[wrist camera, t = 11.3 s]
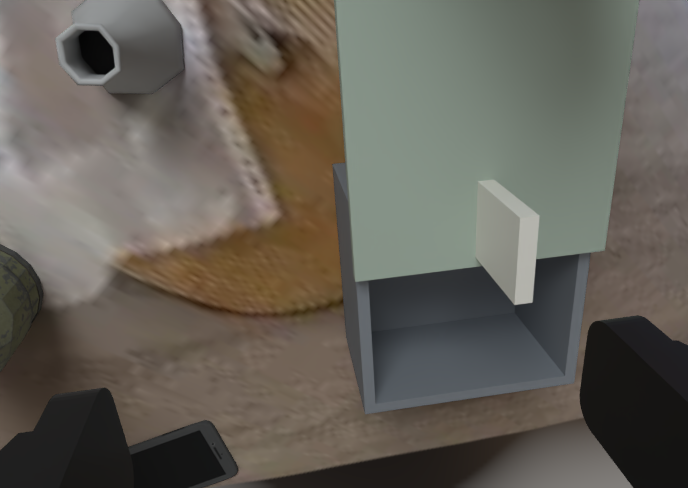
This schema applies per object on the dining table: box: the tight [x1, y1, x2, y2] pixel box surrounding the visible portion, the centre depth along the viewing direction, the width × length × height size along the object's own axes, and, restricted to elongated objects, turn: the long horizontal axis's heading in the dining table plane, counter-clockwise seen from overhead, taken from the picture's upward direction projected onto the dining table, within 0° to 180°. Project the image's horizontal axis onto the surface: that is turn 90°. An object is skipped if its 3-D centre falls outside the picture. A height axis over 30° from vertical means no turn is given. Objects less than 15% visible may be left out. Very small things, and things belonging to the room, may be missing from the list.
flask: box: [55, 0, 184, 94], centre depth 33 cm, size 7×7×10 cm
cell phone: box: [128, 420, 238, 488], centre depth 53 cm, size 7×14×1 cm, turn 108°
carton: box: [332, 163, 591, 414], centre depth 43 cm, size 16×16×10 cm
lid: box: [334, 0, 639, 305], centre depth 30 cm, size 16×16×7 cm
